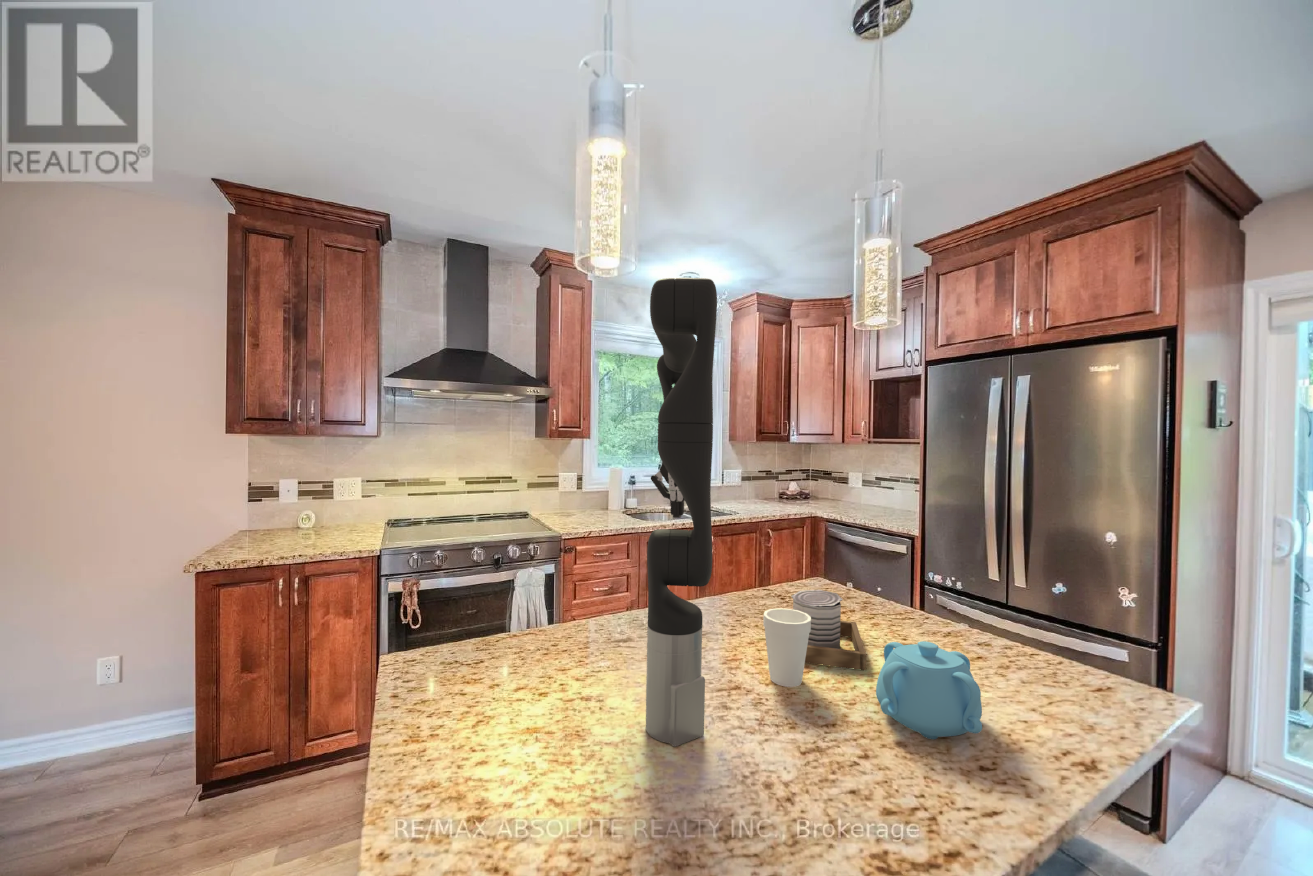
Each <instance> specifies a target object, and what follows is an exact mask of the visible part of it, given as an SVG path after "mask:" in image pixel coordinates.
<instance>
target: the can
mask: <svg viewBox="0 0 1313 876" xmlns="http://www.w3.org/2000/svg"><path fill="white" fill-rule="evenodd" d="M790 597H791V598H792V601H793V603H792V609H793V610H798V611H801V612H804V613H806V614H808V615H809V616H810V617H811V631H810V633H809V638H808V645H811V646H819V647H827V648H836V649H841V636H840V621H841V610H842V606H841V605H842V603H841V601H843V600H844V599H843V598H842V597H841V596H840V595H839V594H838V593H837V592H832V591H827V590H822V589H809V590H808V589H807V590H799V591H797V592H796V593H793V594H792V595H790Z"/></svg>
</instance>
